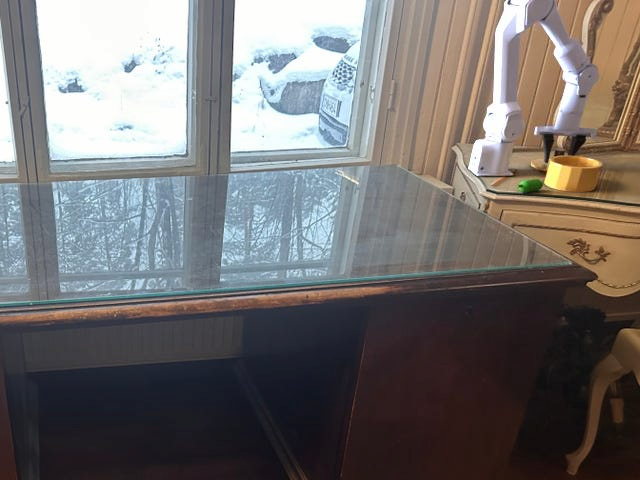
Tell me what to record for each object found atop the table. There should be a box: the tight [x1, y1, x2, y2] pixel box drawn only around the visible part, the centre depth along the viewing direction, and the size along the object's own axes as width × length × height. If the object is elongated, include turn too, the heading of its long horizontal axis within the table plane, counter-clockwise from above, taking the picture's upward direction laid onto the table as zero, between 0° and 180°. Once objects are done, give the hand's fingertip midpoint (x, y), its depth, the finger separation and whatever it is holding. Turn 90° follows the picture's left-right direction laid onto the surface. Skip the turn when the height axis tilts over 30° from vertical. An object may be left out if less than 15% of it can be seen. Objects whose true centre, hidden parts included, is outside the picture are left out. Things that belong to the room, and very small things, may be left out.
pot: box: [543, 155, 604, 193], centre depth 173 cm, size 12×12×6 cm
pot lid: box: [530, 148, 566, 172], centre depth 186 cm, size 13×13×5 cm
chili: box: [515, 178, 544, 194], centre depth 170 cm, size 8×3×3 cm, turn 109°
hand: (556, 162), depth 186 cm, fingers open, 5 cm apart
